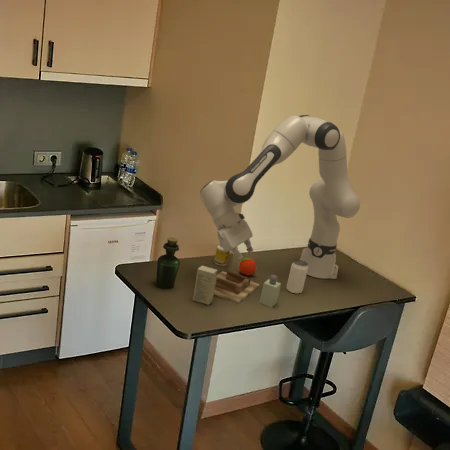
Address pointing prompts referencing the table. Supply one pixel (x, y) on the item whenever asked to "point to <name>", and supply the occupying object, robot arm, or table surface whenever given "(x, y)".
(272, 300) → the sage bottle
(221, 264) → the supplement bottle
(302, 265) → the can
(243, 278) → the u rest
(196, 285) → the skincare box
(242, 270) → the clementine
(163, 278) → the potion bottle
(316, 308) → the table surface
